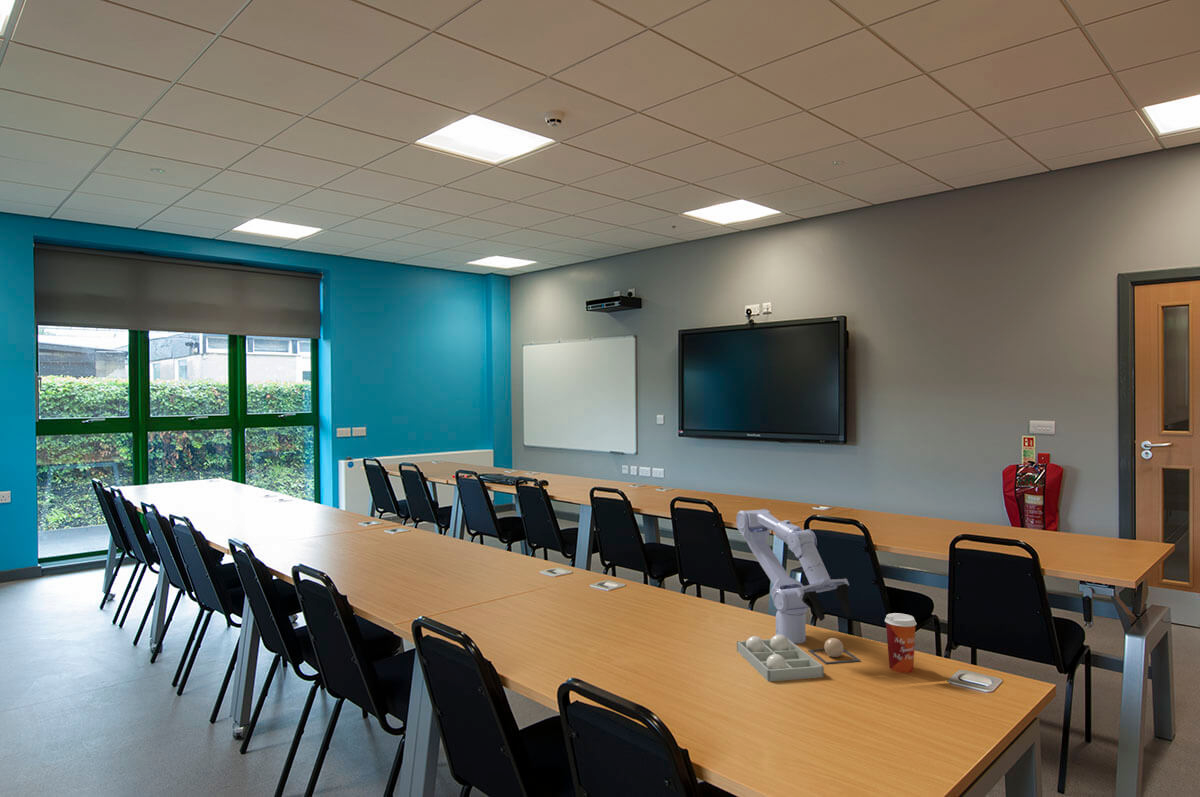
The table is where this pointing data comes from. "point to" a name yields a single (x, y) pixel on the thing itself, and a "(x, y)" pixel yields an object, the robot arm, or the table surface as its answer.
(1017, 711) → the table surface
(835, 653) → the beige ball
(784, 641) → the white egg
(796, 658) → the tray
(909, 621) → the paper cup
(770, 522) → the robot arm
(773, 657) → the white egg
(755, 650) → the white egg
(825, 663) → the coaster
